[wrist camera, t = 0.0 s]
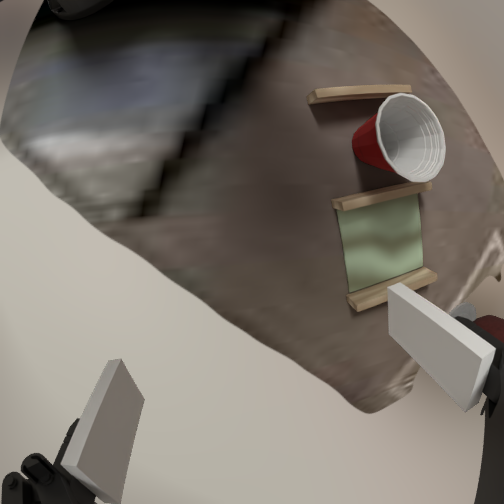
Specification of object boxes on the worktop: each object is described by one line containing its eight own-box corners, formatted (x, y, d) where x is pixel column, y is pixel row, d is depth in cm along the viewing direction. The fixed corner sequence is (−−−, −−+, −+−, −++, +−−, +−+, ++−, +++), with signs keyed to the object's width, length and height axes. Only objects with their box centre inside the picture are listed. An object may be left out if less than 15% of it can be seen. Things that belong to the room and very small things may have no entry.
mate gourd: (434, 317, 48) (500, 368, 29) (477, 288, 48) (541, 324, 29) (434, 369, 52) (484, 420, 33) (474, 340, 52) (525, 380, 33)
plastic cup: (399, 120, 38) (449, 109, 26) (393, 185, 40) (443, 191, 29) (339, 100, 36) (380, 78, 25) (331, 171, 39) (373, 171, 27)
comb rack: (306, 96, 36) (315, 89, 32) (396, 90, 36) (410, 85, 32) (347, 301, 44) (357, 312, 40) (423, 272, 45) (437, 280, 41)
